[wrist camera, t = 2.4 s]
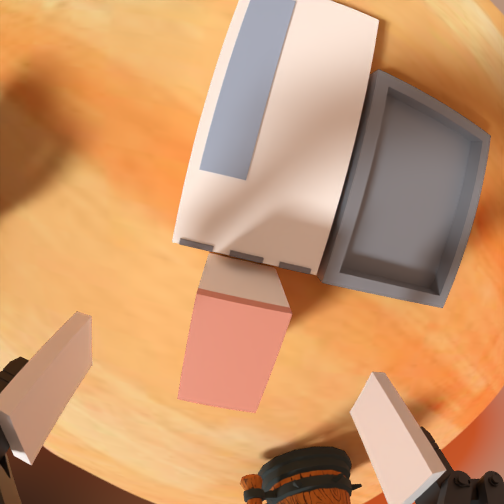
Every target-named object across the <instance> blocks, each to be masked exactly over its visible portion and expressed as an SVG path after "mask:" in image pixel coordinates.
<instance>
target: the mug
mask: <svg viewBox="0 0 504 504" xmlns="http://www.w3.org/2000/svg"><path fill="white" fill-rule="evenodd" d="M351 465H352V464H351V461H350V458H349V457H348V456H347V454H346V453H345V451H343V450H340V449H337V448H334V447H309V448H304V449H298V450H293V451H291V452H288V453H285V454H283V455H280V456H277V457H275V458H274V459H272V460H271V461H269V462H268V463H266V464H264V465H263V467H262V468H261V470H260V471H259V473H258V475H257V474H251V475H246V476H244V477H242V479H241V482H240V484H241V486H242V487H243V489H244V490H245V491H244V501H245V502H247V504H262V501H264V500H267V503H266V504H351V503H350V496H351V492H352V490H355V489H357V488H360V487H362V485H361V484H351V481H350V480H349V477H350V469H351Z"/></svg>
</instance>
